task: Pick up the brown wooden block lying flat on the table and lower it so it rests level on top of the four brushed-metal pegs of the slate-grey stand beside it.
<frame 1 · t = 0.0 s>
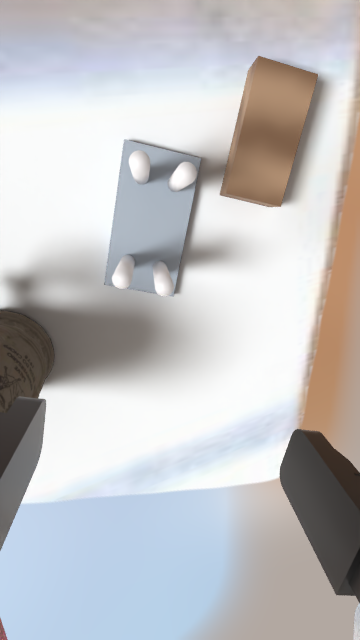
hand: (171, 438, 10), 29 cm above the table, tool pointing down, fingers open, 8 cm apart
brown wooden block: (258, 143, 35), on the table
beer stein: (2, 339, 39), on the table
peg stand: (150, 223, 36), on the table
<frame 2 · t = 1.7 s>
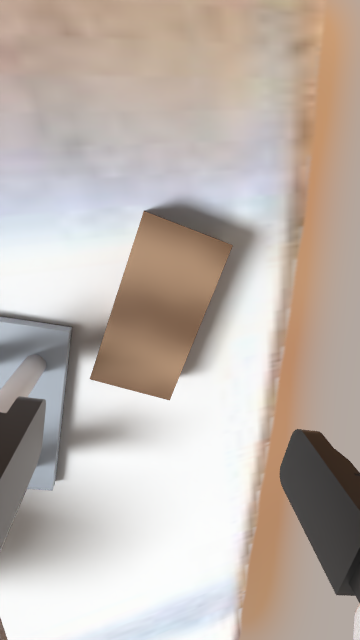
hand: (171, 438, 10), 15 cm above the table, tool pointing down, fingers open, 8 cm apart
brown wooden block: (156, 301, 25), on the table
peg stand: (12, 405, 26), on the table
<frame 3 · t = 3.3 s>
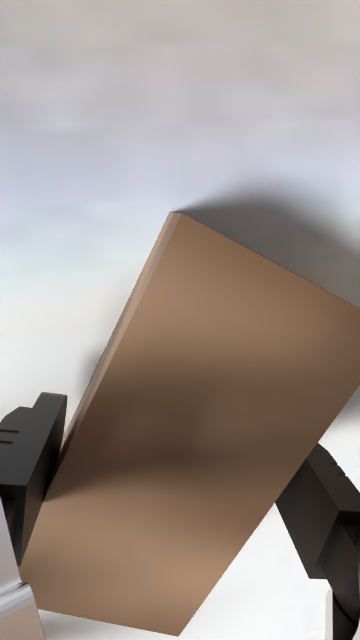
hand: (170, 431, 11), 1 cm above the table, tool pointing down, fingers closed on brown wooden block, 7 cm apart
brown wooden block: (170, 403, 12), on the table, touching gripper
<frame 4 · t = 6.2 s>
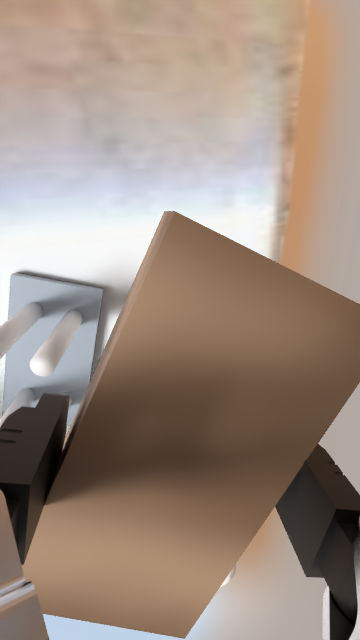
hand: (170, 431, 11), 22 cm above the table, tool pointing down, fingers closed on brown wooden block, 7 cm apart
brown wooden block: (170, 404, 12), point 21 cm above the table, touching gripper
peg stand: (52, 353, 33), on the table
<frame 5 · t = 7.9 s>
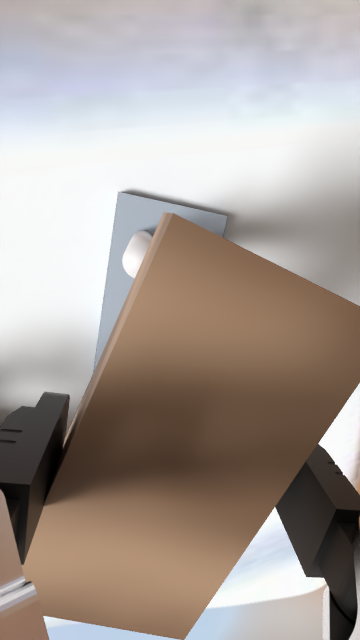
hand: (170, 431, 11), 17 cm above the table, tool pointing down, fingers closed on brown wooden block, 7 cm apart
brown wooden block: (170, 405, 12), point 15 cm above the table, touching gripper
peg stand: (155, 300, 26), on the table
when the fingers open (14 cm above the table, at t = 9.0 s): brown wooden block drops 1 cm, resting on peg stand.
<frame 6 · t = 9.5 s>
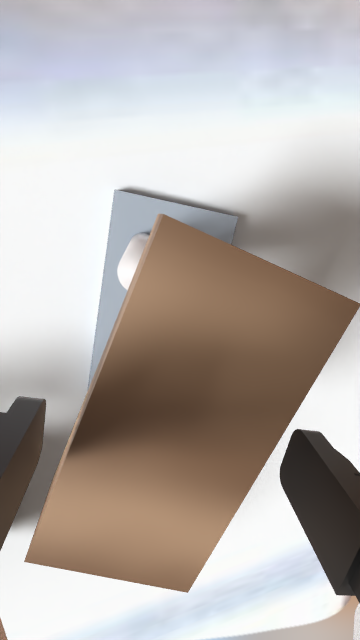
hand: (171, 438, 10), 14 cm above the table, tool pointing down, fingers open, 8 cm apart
brown wooden block: (169, 386, 13), point 11 cm above the table, touching peg stand
peg stand: (156, 311, 24), on the table
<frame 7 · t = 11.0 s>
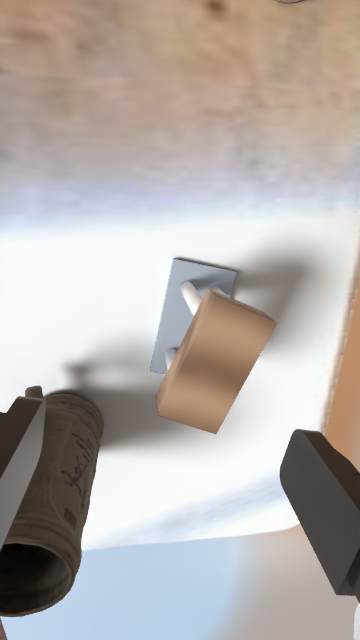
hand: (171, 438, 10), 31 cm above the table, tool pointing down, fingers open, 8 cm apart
brown wooden block: (208, 354, 32), point 11 cm above the table, touching peg stand
beer stein: (59, 414, 45), on the table
peg stand: (191, 321, 43), on the table
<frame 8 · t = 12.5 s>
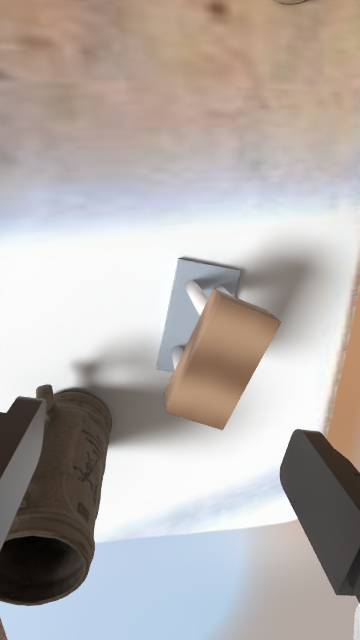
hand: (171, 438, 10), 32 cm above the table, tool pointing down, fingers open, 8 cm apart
brown wooden block: (214, 352, 33), point 11 cm above the table, touching peg stand
beer stein: (68, 411, 46), on the table
peg stand: (196, 319, 43), on the table
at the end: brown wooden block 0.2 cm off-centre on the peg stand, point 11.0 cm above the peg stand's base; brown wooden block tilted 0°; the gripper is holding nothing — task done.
